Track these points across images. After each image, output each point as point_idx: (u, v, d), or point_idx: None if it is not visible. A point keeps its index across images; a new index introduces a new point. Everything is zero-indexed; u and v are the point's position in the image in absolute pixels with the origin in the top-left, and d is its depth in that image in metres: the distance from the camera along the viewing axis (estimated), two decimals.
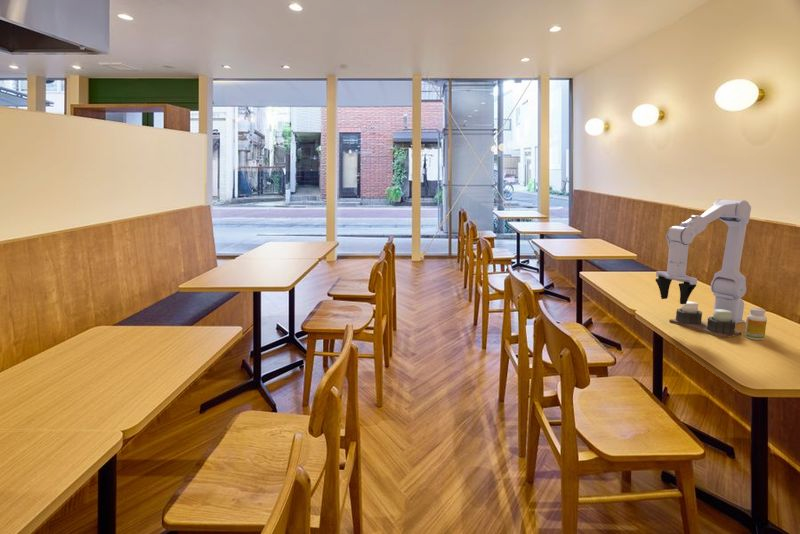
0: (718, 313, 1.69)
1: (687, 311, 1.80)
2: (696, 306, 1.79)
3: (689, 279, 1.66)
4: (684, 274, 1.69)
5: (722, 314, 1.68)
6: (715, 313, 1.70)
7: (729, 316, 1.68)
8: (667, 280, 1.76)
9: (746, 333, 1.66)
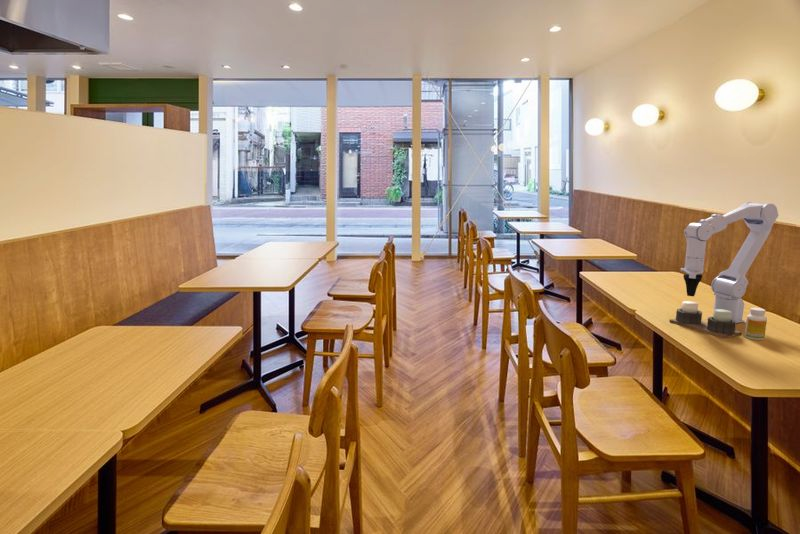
0: (718, 313, 1.69)
1: (687, 311, 1.80)
2: (696, 306, 1.79)
3: (689, 273, 1.74)
4: (695, 269, 1.76)
5: (722, 314, 1.68)
6: (715, 313, 1.70)
7: (729, 316, 1.68)
8: None
9: (746, 333, 1.66)
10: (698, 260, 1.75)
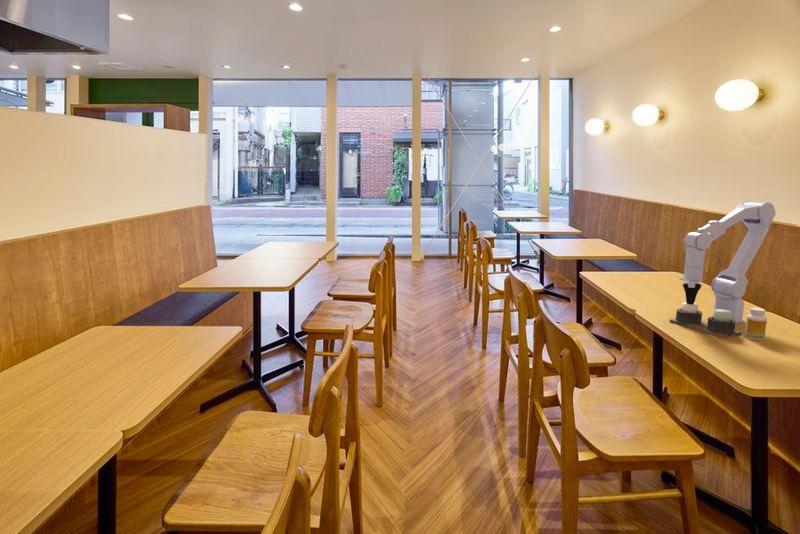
0: (718, 313, 1.69)
1: (687, 312, 1.80)
2: (696, 307, 1.79)
3: (688, 282, 1.75)
4: (694, 278, 1.77)
5: (722, 314, 1.68)
6: (715, 313, 1.70)
7: (729, 316, 1.68)
8: None
9: (746, 333, 1.66)
10: (697, 269, 1.76)
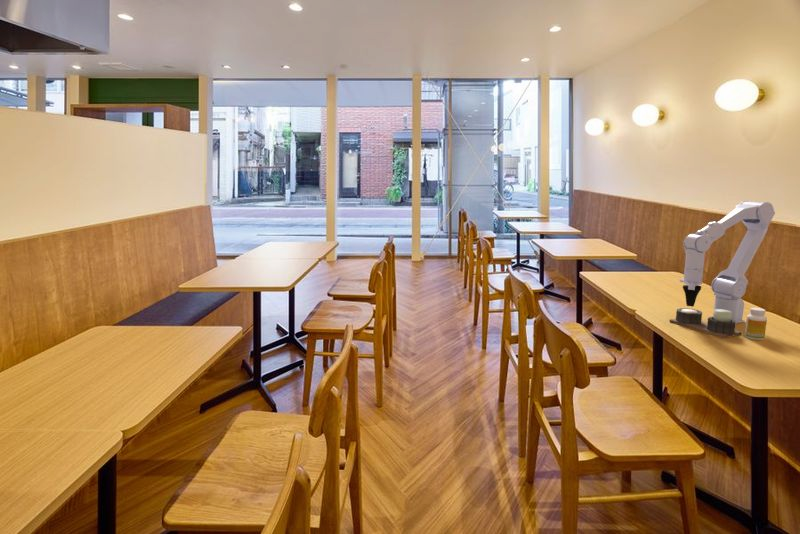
0: (718, 313, 1.69)
1: None
2: None
3: (688, 284, 1.75)
4: (694, 280, 1.77)
5: (722, 314, 1.68)
6: (715, 313, 1.70)
7: (729, 316, 1.68)
8: None
9: (746, 333, 1.66)
10: (697, 271, 1.76)
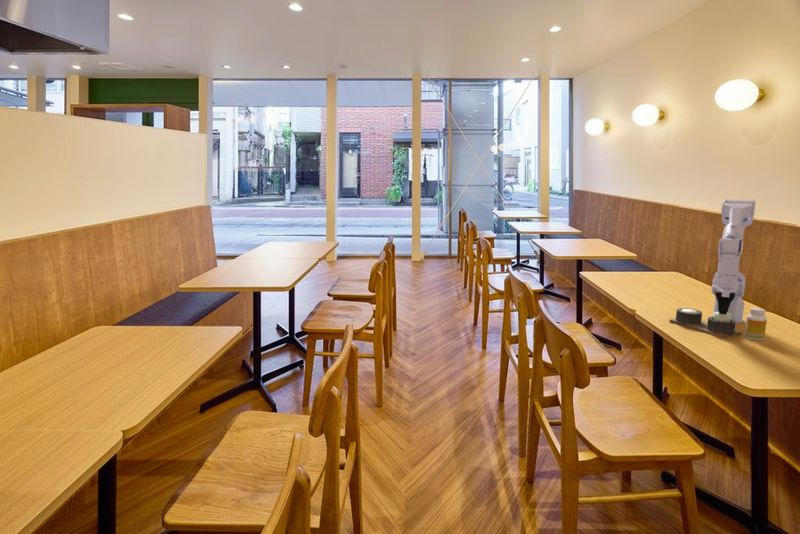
0: (718, 316, 1.69)
1: None
2: None
3: (721, 291, 1.64)
4: (728, 287, 1.66)
5: (722, 317, 1.68)
6: (715, 316, 1.70)
7: (729, 319, 1.68)
8: None
9: (746, 333, 1.66)
10: (731, 277, 1.65)
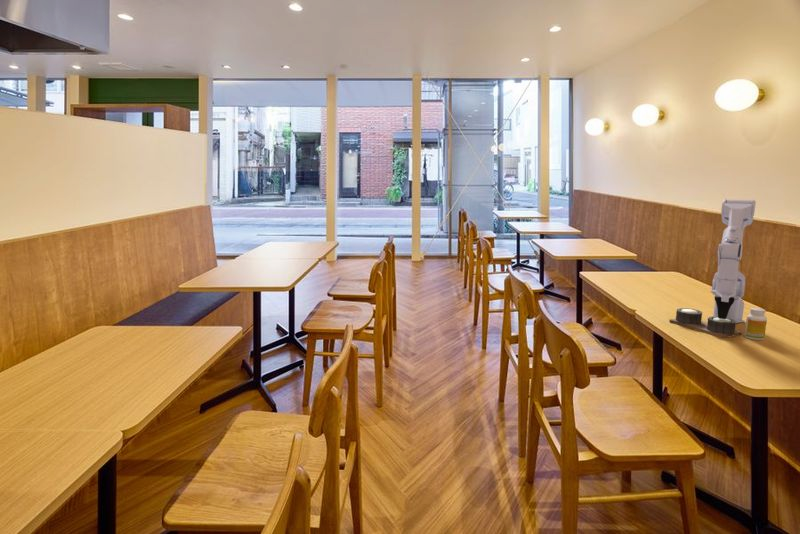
0: None
1: None
2: None
3: (721, 296, 1.65)
4: (727, 291, 1.66)
5: None
6: None
7: None
8: None
9: (746, 333, 1.66)
10: (730, 282, 1.66)
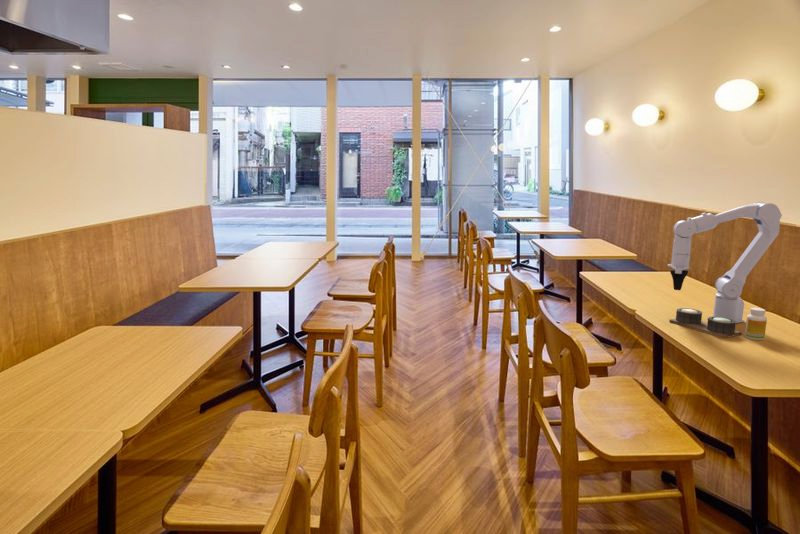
0: None
1: None
2: None
3: (675, 268, 1.82)
4: (681, 265, 1.84)
5: None
6: None
7: None
8: None
9: (746, 333, 1.66)
10: (684, 256, 1.84)
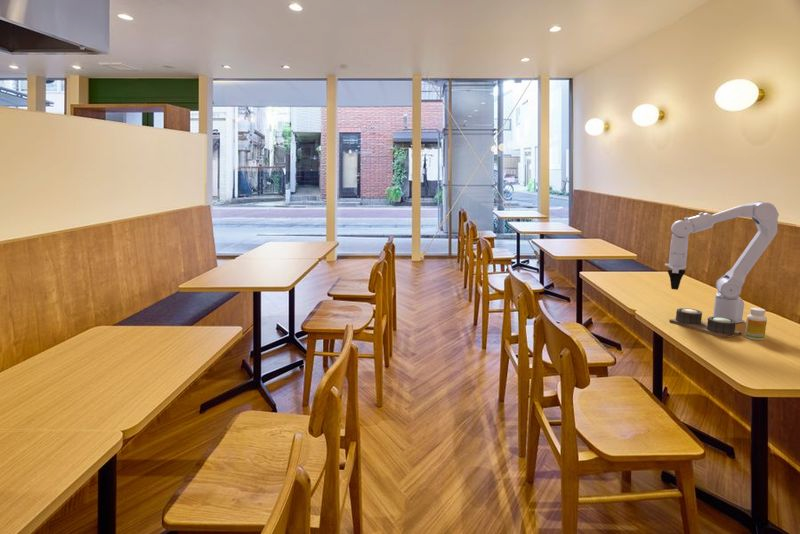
0: None
1: None
2: None
3: (672, 268, 1.84)
4: (678, 264, 1.86)
5: None
6: None
7: None
8: None
9: (746, 333, 1.66)
10: (681, 256, 1.85)
